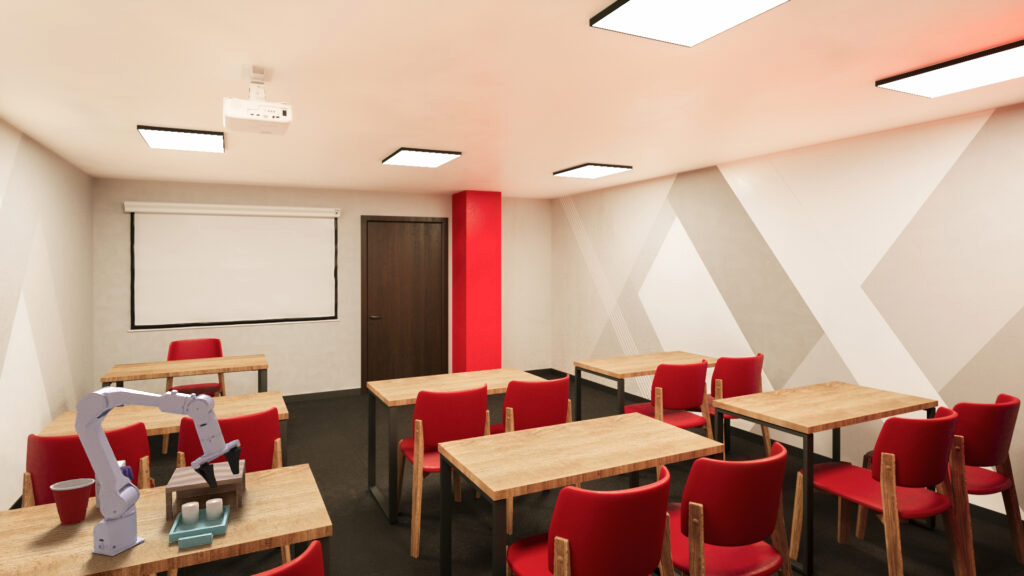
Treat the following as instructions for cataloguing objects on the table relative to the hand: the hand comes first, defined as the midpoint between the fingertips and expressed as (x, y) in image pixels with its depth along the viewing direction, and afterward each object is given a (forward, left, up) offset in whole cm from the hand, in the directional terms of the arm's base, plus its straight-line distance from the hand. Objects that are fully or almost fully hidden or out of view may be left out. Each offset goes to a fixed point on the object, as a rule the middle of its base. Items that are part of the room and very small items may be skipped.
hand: (225, 480), depth 159 cm
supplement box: (+8, +56, -16) cm, 59 cm away
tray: (0, +9, -16) cm, 18 cm away
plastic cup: (-6, +53, -16) cm, 56 cm away
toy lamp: (-2, +37, -16) cm, 40 cm away
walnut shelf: (+16, +23, -15) cm, 33 cm away
